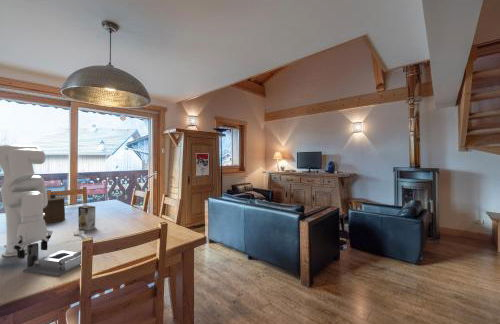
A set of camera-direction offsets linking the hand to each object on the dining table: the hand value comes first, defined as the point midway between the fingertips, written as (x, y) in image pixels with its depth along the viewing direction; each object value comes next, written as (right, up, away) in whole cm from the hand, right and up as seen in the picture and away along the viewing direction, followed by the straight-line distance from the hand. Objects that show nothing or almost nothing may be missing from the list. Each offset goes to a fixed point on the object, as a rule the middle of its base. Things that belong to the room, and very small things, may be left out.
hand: (33, 253), depth 110 cm
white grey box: (+15, -5, -1) cm, 16 cm away
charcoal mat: (+13, -6, 0) cm, 14 cm away
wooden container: (-56, -4, +75) cm, 94 cm away
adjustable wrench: (-4, -5, +38) cm, 39 cm away
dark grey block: (-1, -6, 0) cm, 6 cm away
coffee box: (-15, -4, +56) cm, 58 cm away
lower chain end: (+12, -5, 0) cm, 13 cm away
